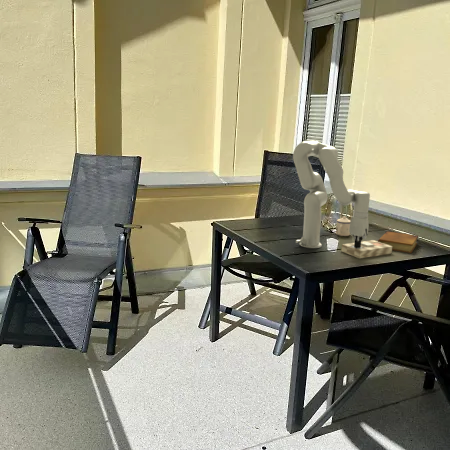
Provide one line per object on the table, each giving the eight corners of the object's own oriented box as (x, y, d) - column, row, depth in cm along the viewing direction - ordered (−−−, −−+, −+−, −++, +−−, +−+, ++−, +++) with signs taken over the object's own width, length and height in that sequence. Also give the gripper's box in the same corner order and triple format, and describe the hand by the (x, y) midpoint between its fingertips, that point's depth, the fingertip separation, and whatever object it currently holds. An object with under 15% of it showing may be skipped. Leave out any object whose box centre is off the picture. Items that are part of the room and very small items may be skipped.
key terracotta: (376, 250, 247) (377, 246, 246) (369, 247, 251) (370, 243, 250) (383, 249, 249) (383, 245, 248) (376, 246, 253) (376, 242, 253)
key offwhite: (366, 249, 243) (367, 245, 242) (360, 247, 247) (360, 242, 247) (373, 248, 245) (374, 244, 245) (366, 246, 250) (367, 242, 249)
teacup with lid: (337, 231, 291) (339, 214, 288) (351, 234, 286) (353, 216, 283) (332, 235, 280) (333, 217, 278) (346, 237, 276) (348, 219, 273)
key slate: (356, 253, 240) (356, 248, 239) (349, 250, 244) (350, 246, 243) (363, 252, 242) (363, 247, 242) (356, 249, 246) (357, 245, 246)
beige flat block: (359, 258, 235) (360, 251, 234) (341, 251, 247) (342, 244, 246) (391, 253, 246) (392, 246, 245) (372, 246, 258) (373, 240, 257)
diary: (384, 240, 277) (386, 231, 275) (416, 244, 268) (418, 235, 266) (377, 248, 257) (378, 238, 256) (411, 253, 248) (412, 243, 247)
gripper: (345, 212, 243) (342, 244, 247) (365, 218, 230) (362, 251, 234) (355, 211, 246) (352, 243, 251) (376, 216, 233) (372, 250, 238)
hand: (357, 247), depth 242 cm, fingers closed
